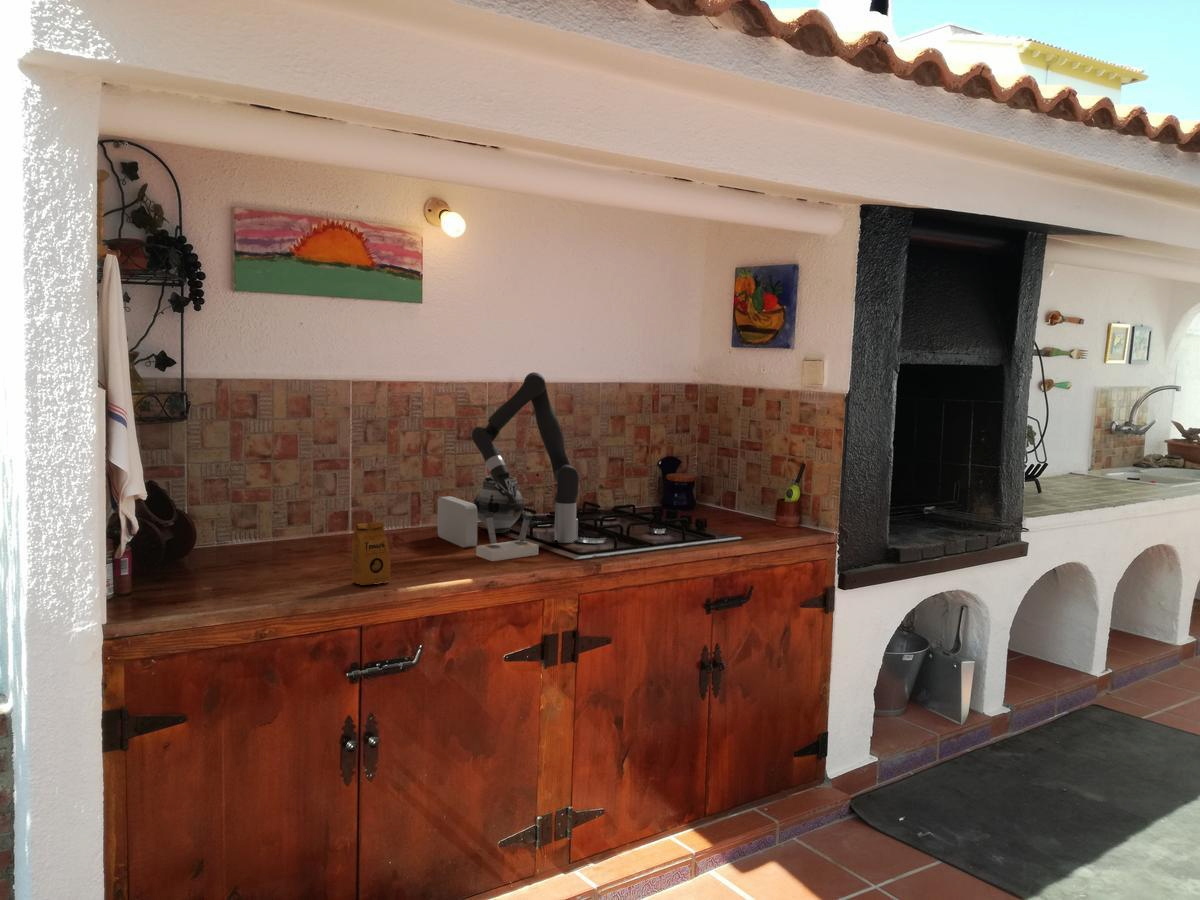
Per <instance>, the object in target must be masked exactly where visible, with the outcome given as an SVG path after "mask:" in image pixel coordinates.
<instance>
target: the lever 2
mask: <svg viewBox="0 0 1200 900" xmlns="http://www.w3.org/2000/svg"><path fill="white" fill-rule="evenodd" d="M533 517H534V514H532V513H531V512H530V511H527V512H522V518H523V521H522V525H521V528H520V532H519V536H518V539H517V541H518V540H519V541H520V542H521V541H526V536H527V532H528V529H529V526H530V521H531V520H533Z"/></svg>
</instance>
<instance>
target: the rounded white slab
mask: <svg viewBox="0 0 1200 900" xmlns="http://www.w3.org/2000/svg"><path fill="white" fill-rule="evenodd" d="M437 534H438V535H437V536H438V537H439V538H440V539H443V540H445V541H447V542H450V543H452V544H454V545H457V546H458V547H461V548H473V547H476V546H478V545H477V544H478V516H477V507H476V505H475V504H474V502H473V503H472V502H469V501H466V500H465V499H464V500H463V499H461V498H458V497H454V496H451V495H450V496H449V495H447V496H439V497H438V499H437Z"/></svg>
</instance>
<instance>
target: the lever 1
mask: <svg viewBox="0 0 1200 900" xmlns="http://www.w3.org/2000/svg"><path fill="white" fill-rule="evenodd" d="M492 517H494V514H493V512H488V513H485V514H484V519H486V521H487V527H488V531H487V532H488V538H489V544H495V543H498V541H497V537H496V533H495V530H494V524H493V518H492ZM487 527H486V528H487Z"/></svg>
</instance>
